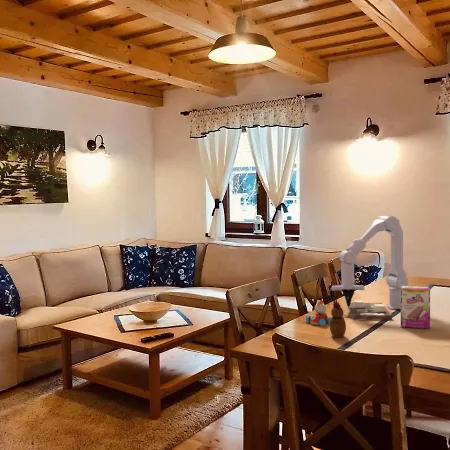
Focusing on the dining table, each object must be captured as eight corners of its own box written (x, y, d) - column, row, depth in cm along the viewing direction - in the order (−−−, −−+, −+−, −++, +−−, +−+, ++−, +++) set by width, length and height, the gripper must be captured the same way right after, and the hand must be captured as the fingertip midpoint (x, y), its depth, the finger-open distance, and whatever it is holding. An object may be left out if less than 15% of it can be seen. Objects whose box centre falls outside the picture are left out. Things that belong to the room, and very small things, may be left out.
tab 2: (383, 309, 218) (383, 304, 218) (384, 311, 214) (384, 306, 214) (374, 309, 219) (373, 304, 219) (375, 311, 215) (375, 306, 215)
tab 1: (362, 305, 227) (362, 300, 227) (363, 307, 223) (363, 302, 223) (353, 305, 228) (353, 300, 228) (354, 307, 224) (354, 302, 224)
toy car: (304, 323, 210) (303, 300, 209) (317, 319, 215) (317, 297, 215) (320, 327, 203) (319, 303, 202) (334, 323, 208) (333, 300, 208)
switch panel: (381, 306, 233) (381, 302, 233) (392, 319, 209) (391, 314, 209) (347, 307, 235) (347, 302, 235) (353, 319, 212) (353, 314, 211)
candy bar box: (400, 328, 197) (400, 287, 196) (400, 324, 202) (400, 285, 201) (430, 329, 193) (430, 288, 192) (429, 326, 198) (429, 286, 197)
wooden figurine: (328, 334, 192) (327, 296, 191) (342, 333, 193) (341, 295, 192) (333, 339, 185) (332, 300, 184) (348, 338, 186) (347, 299, 185)
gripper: (332, 278, 222) (333, 307, 223) (365, 277, 220) (365, 307, 221) (331, 275, 229) (332, 304, 230) (362, 275, 227) (363, 303, 228)
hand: (348, 305), depth 226 cm, fingers closed
